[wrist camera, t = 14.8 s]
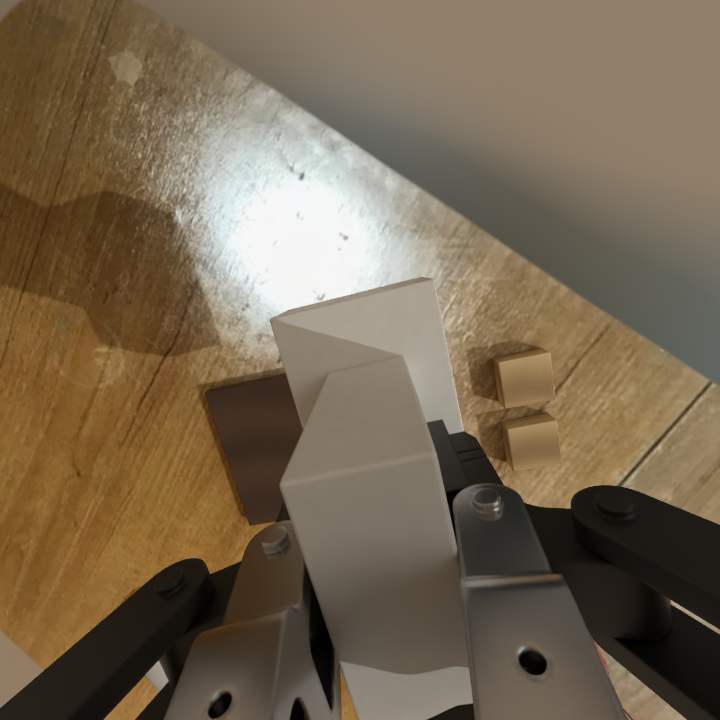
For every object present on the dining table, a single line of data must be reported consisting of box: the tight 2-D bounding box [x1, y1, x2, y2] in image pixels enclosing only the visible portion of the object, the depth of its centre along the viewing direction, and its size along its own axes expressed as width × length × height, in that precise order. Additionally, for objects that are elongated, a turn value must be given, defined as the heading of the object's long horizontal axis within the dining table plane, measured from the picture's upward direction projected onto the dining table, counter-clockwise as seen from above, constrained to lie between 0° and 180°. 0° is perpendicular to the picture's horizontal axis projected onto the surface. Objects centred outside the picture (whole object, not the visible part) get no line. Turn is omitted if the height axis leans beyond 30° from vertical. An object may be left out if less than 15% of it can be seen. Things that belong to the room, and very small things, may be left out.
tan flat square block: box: [492, 348, 555, 409], centre depth 27 cm, size 4×4×2 cm
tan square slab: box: [501, 413, 562, 472], centre depth 28 cm, size 4×4×2 cm
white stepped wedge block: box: [270, 277, 473, 720], centre depth 11 cm, size 5×10×10 cm, turn 14°
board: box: [205, 374, 303, 526], centre depth 29 cm, size 12×16×1 cm
